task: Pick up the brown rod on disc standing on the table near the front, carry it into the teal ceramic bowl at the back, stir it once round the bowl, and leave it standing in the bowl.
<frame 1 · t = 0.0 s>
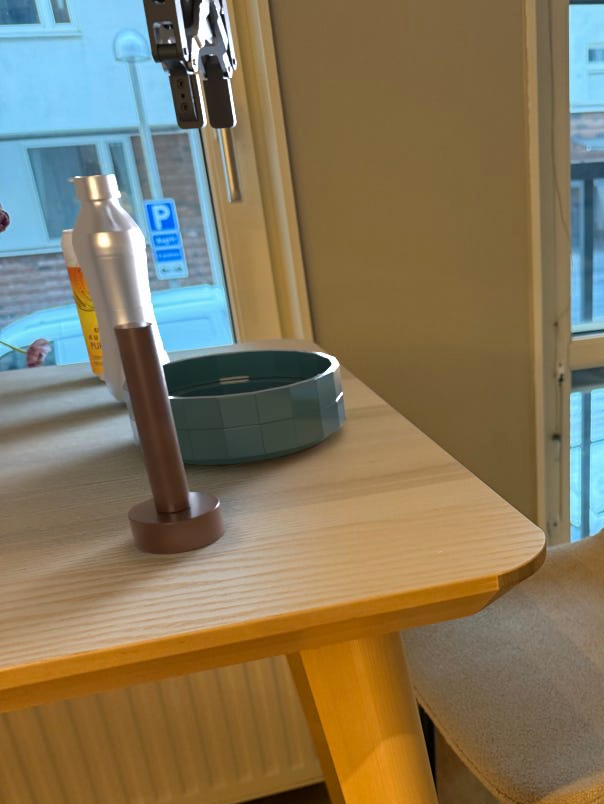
hand: (209, 128, 78), 23 cm above the table, tool pointing down, fingers open, 8 cm apart
silver bottle: (145, 403, 92), on the table
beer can: (123, 377, 103), on the table
brown rod on disc: (180, 536, 59), on the table
bowl: (244, 437, 79), on the table
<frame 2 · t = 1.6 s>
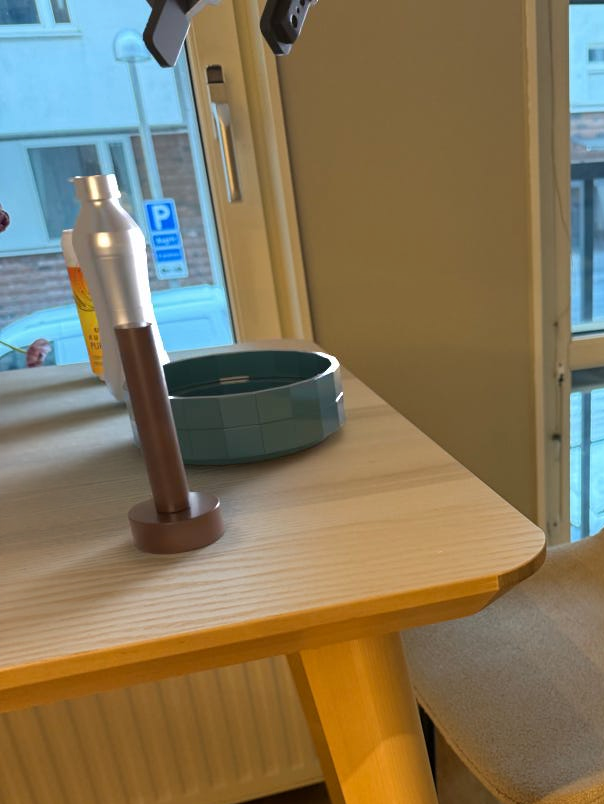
hand: (213, 49, 56), 27 cm above the table, tool tilted 45°, fingers open, 8 cm apart
nothing on the table moved.
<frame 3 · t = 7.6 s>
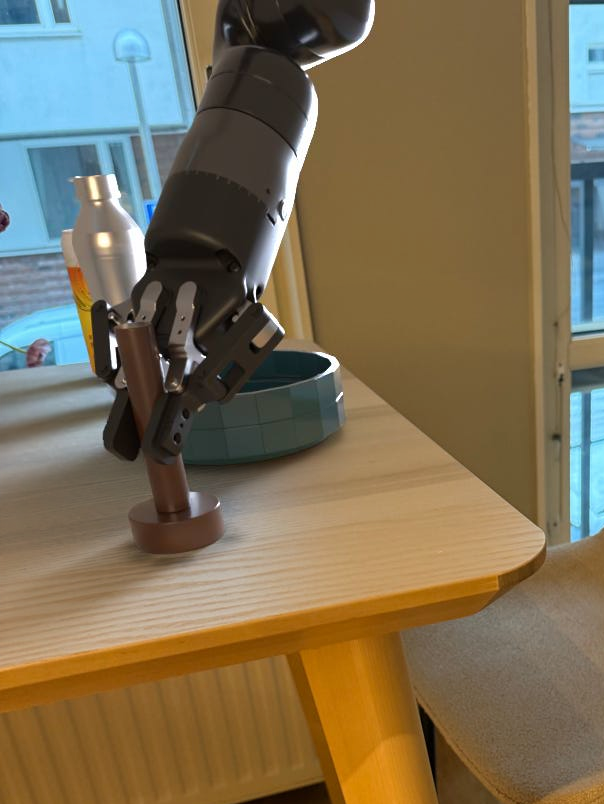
hand: (137, 456, 55), 6 cm above the table, tool tilted 45°, fingers closed on brown rod on disc
brown rod on disc: (180, 536, 59), on the table, touching gripper
everything else where it was.
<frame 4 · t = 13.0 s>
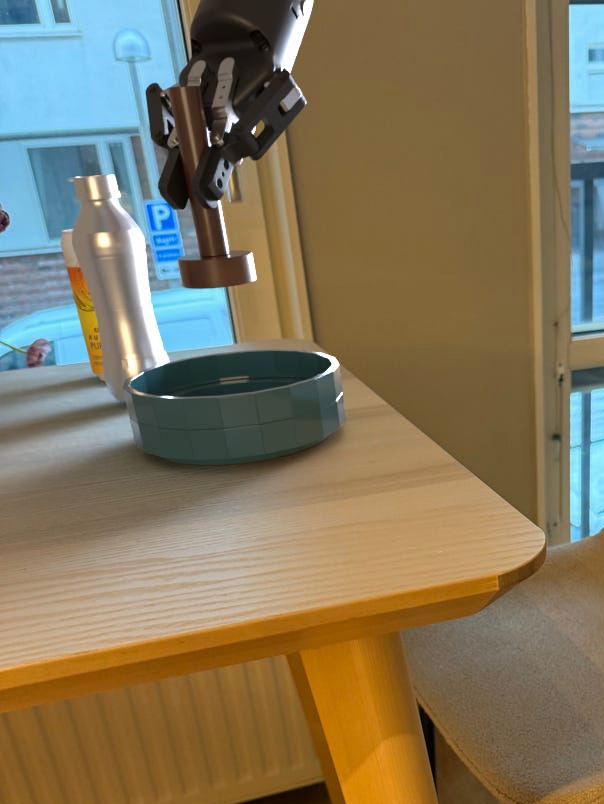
hand: (186, 200, 67), 18 cm above the table, tool tilted 45°, fingers closed on brown rod on disc
brown rod on disc: (219, 282, 71), point 12 cm above the table, touching gripper
everything else where it was.
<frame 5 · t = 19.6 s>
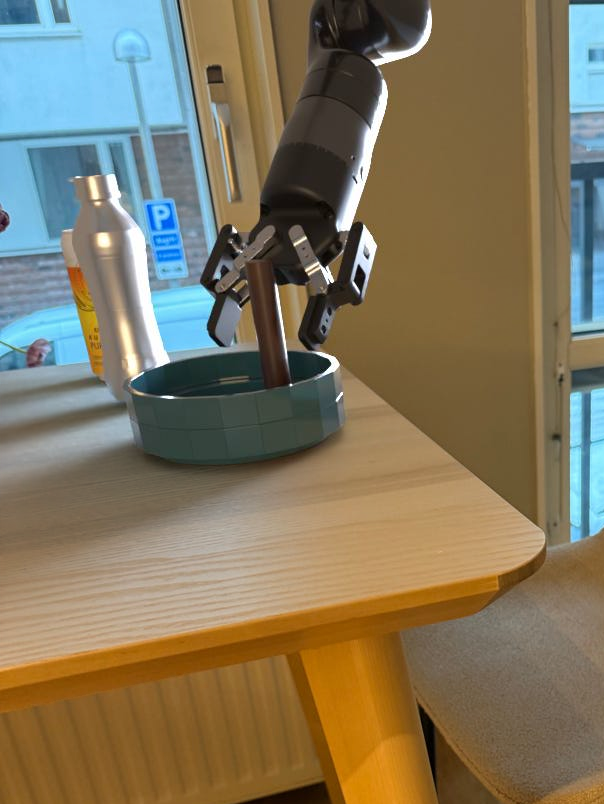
hand: (261, 343, 74), 8 cm above the table, tool tilted 45°, fingers open, 8 cm apart
brown rod on disc: (284, 426, 78), point 1 cm above the table, touching bowl
everything else where it was.
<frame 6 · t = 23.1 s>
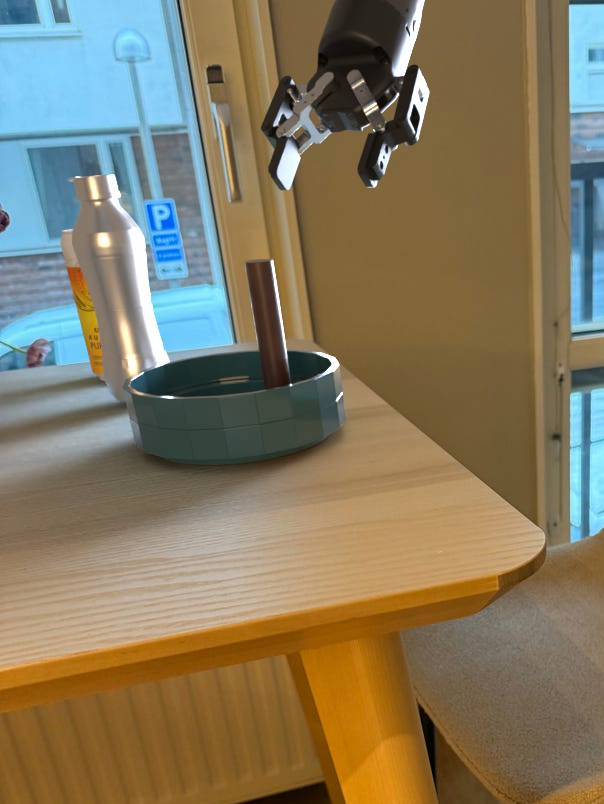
hand: (321, 182, 78), 19 cm above the table, tool tilted 45°, fingers open, 8 cm apart
nothing on the table moved.
at the end: brown rod on disc inside the target area in the bowl (3.6 cm from its centre), point 0.8 cm above the bowl's base; brown rod on disc tilted 0°; brown rod on disc moved 22.2 cm from its start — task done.
